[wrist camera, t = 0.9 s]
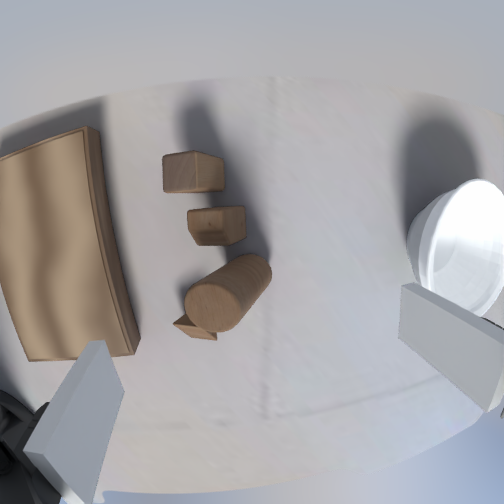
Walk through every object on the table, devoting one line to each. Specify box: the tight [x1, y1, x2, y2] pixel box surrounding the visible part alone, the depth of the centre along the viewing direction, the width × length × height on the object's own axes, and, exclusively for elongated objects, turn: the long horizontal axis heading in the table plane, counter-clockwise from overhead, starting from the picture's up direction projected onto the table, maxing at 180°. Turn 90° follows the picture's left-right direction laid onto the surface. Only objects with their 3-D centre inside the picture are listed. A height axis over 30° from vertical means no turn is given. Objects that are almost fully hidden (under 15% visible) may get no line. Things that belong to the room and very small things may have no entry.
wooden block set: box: [162, 151, 272, 340], centre depth 26 cm, size 18×9×10 cm, turn 2°
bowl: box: [406, 178, 504, 317], centre depth 29 cm, size 16×16×8 cm
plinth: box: [0, 126, 141, 362], centre depth 26 cm, size 14×22×4 cm, turn 8°
